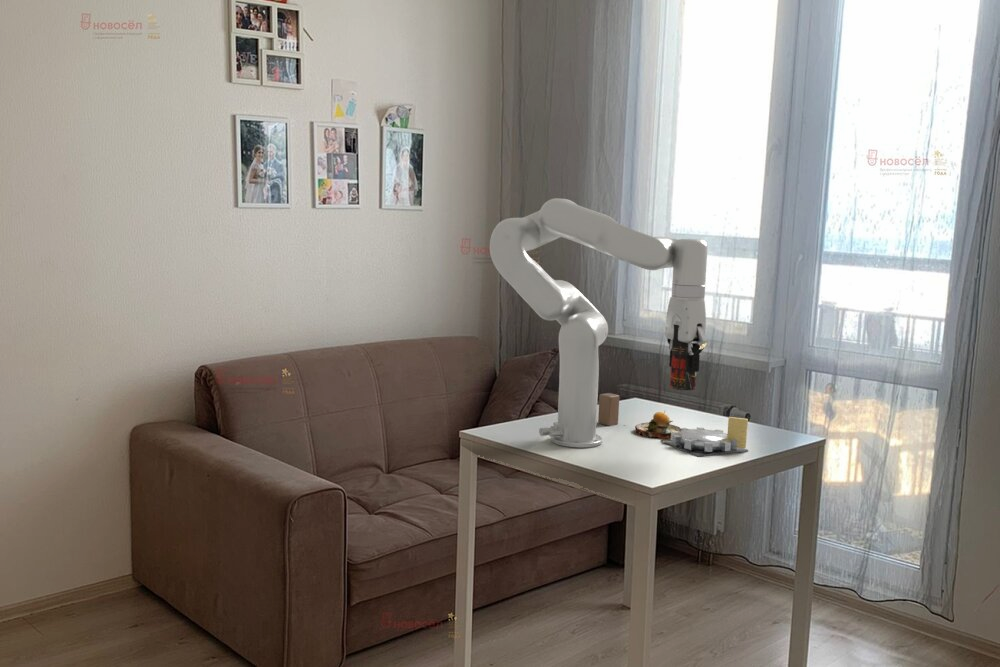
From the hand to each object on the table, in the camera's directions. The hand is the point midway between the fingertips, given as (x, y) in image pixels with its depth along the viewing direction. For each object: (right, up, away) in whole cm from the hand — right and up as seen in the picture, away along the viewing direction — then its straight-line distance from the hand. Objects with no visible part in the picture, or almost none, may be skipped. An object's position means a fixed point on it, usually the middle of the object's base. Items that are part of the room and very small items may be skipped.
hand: (683, 368), depth 216 cm
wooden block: (-14, -16, +31) cm, 38 cm away
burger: (-2, -18, +22) cm, 29 cm away
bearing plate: (+7, -19, +10) cm, 23 cm away
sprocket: (+8, -19, +10) cm, 23 cm away
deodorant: (0, -5, +1) cm, 5 cm away
